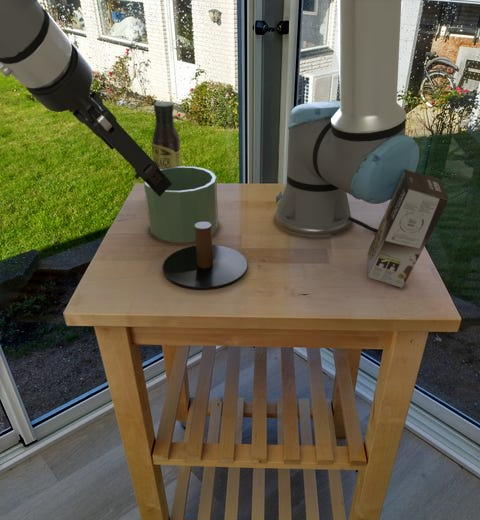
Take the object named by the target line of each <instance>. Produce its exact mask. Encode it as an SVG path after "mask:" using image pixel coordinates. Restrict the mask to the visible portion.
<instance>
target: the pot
mask: <svg viewBox="0 0 480 520" xmlns="http://www.w3.org/2000/svg"><path fill="white" fill-rule="evenodd" d="M160 170H161V171H162V173H163V174H164V175H165V176H166V177H167V178H168V180H169V181H170V182H171V183H172V185H171V186H170V187H169V188H168V189H167V190H166V191H165V192H164V193H163V194H162V195H161V196H160V197H159V196H158V195H157V194H156V193H155V192H154V191H153V190H152V189H151V187H150V186H149V185H148V184H147V183H146V182H145V181H144V180H143V186H144V194H145V202H146V209H147V217H148V226H149V230H150V233H151V235H153V236H155V237H156V238H157V239H160V240H163V241H167V242H174V243H187V242H196V240H195V224H196V223H198V222H209V223H211V227H212V234H214V233H215V232H217V230H218V227H219V212H218V209H219V207H218V187H217V186H218V184H217V183H218V182H217V176H216V175H215V173H214V172H213V171H211V170H209V169H207V168H203V167H198V166H185V165H181V166H178V167H169V168H164V169H160Z"/></svg>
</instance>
